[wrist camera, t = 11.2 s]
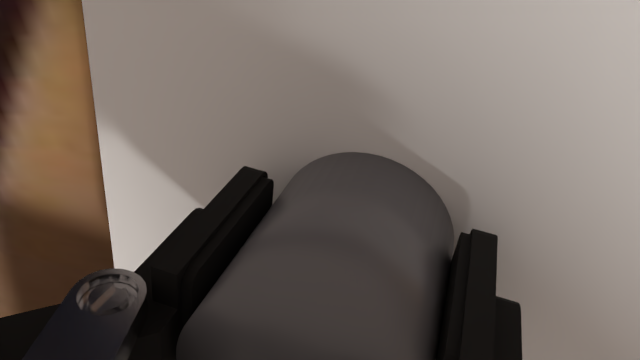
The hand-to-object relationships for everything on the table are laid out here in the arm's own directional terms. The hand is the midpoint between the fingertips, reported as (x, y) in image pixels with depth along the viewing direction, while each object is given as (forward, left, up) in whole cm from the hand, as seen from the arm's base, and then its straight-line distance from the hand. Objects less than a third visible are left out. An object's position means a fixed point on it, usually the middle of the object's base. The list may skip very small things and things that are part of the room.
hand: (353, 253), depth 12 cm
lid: (0, 0, -2) cm, 2 cm away
